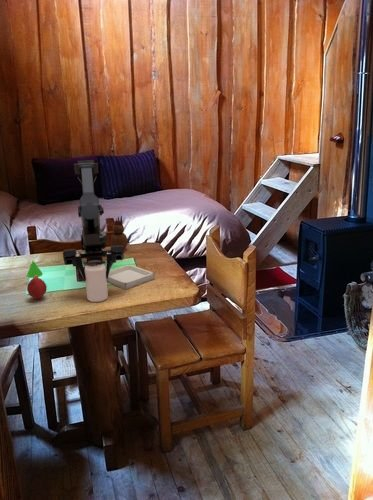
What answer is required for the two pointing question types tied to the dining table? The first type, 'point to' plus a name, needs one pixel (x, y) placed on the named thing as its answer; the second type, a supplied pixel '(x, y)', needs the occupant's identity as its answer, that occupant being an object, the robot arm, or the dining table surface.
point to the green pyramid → (34, 271)
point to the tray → (129, 276)
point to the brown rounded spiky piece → (118, 234)
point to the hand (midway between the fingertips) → (96, 279)
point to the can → (96, 281)
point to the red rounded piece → (36, 287)
